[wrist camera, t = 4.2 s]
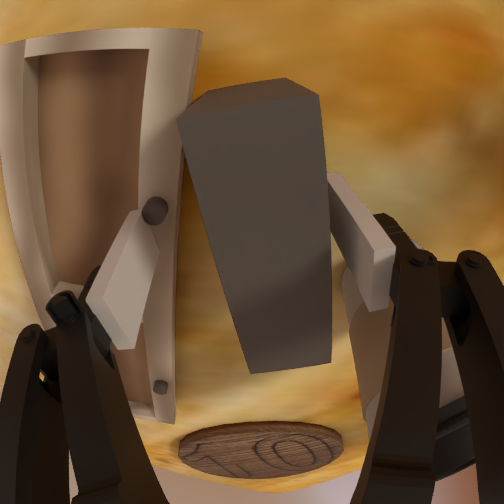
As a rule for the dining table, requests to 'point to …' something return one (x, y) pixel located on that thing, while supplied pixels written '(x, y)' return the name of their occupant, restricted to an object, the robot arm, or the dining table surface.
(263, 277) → the picture frame
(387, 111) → the dining table surface
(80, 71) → the wooden compartment tray
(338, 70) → the dining table surface
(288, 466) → the trivet
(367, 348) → the coffee cup
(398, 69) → the dining table surface
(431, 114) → the dining table surface
